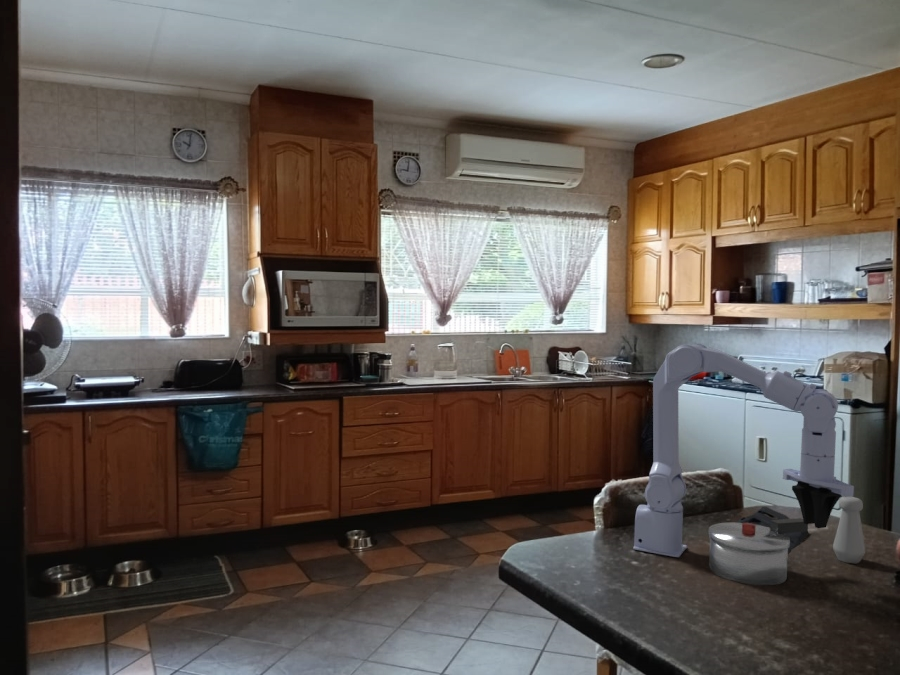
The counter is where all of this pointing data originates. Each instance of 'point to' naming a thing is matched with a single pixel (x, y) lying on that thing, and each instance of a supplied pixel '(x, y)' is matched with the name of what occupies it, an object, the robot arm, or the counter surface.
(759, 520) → the dark slate chunk
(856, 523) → the salt shaker
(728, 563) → the pot
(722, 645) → the counter surface
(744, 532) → the lid
